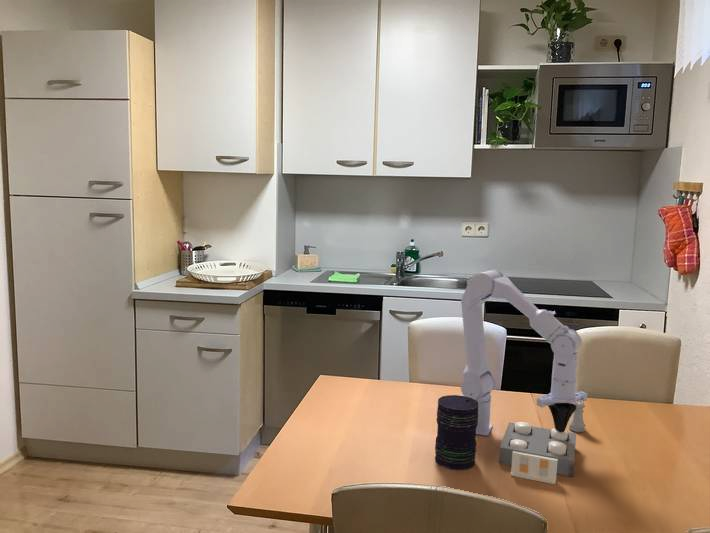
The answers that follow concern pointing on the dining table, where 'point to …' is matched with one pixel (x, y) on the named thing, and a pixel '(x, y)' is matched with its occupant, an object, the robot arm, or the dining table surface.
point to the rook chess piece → (577, 418)
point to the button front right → (557, 448)
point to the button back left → (523, 428)
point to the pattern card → (534, 467)
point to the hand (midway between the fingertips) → (559, 430)
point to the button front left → (518, 443)
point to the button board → (538, 447)
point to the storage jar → (456, 432)
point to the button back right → (559, 435)
